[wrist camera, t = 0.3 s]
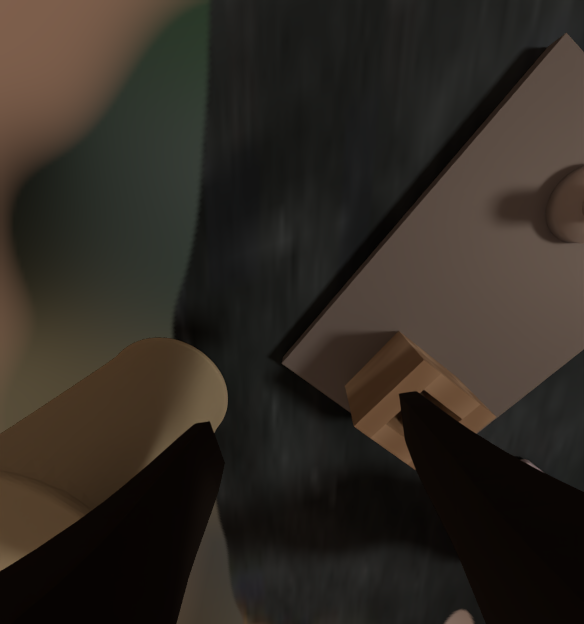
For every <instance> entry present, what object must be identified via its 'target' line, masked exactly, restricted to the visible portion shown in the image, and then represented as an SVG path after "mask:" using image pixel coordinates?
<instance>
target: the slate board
mask: <svg viewBox="0 0 584 624" xmlns="http://www.w3.org/2000/svg"><path fill="white" fill-rule="evenodd" d="M398 331H400V332H401V333H402V334H403V335H405V336H406V337H407V338H408V339H410V340H411V341H412V342H413V343H415V344H416V345H417V346H418V347H420V348H421V349H422V350H423V351H425V352H426V353H427V354H429V355H430V356H431V357H432V358H434V359H435V360H436V361H437V362H439V363H440V364H441V365H442V366H444V367H445V368H446V369H447V370H449V371H450V372H451V373H452V374H454V375H455V376H456V377H457V378H458V379H459V380H460V381H461V382H462V383H463V384H464V385H465V386H466V387H467V388H468V389H469V390H470V391H471V392H472V393H473V394H474V395H475V396H476V397H477V398H478V399H479V400H480V401H481V402H482V403H483V404H484V405H485V406H486V407H487V408H488V409H489V410H490V411H491V412H492V413H493V414H494V415H495V416H496V418H497V417H498V416H500V415H501V414H502V413H504V412H505V411H506V410H507V409H509V408H510V407H511V406H512V405H514V404H515V403H516V402H517V401H519V400H520V399H521V398H523V397H524V396H525V395H526V394H528V393H529V392H530V391H531V390H533V389H534V388H535V387H536V386H538V385H539V384H540V383H541V382H543V381H544V380H545V379H547V378H548V377H549V376H550V375H552V374H553V373H554V372H555V371H557V370H558V369H559V368H560V367H562V366H563V365H564V364H566V363H567V362H568V361H569V360H571V359H572V358H573V357H574V356H576V355H577V354H578V353H579V352H581V351H582V350H583V349H584V52H583V51H582V50H581V49H580V48H579V46H578V45H577V44H576V43H575V42H574V41H573V40H572V39H571V37H570V36H569V35H568V34H567V33H565V34H564V35H563V36H561V37H560V38H559V39H558V40H556V41H555V42H554V43H552V44H551V45H550V46H548V47H547V49H546V50H545V51H544V52H543V53H542V54H541V56H540V57H539V58H538V59H537V60H536V61H535V63H534V64H533V65H532V66H531V67H530V68H529V70H528V71H527V72H526V73H525V74H524V75H523V77H522V78H521V79H520V80H519V81H518V83H517V84H516V85H515V86H514V87H513V88H512V90H511V91H510V92H509V93H508V94H507V95H506V97H505V98H504V99H503V100H502V101H501V102H500V104H499V105H498V106H497V107H496V108H495V109H494V111H493V112H492V113H491V114H490V115H489V116H488V118H487V119H486V120H485V121H484V122H483V123H482V125H481V126H480V127H479V128H478V129H477V130H476V132H475V133H474V134H473V135H472V136H471V138H470V139H469V140H468V141H467V142H466V143H465V145H464V146H463V147H462V148H461V149H460V150H459V152H458V153H457V154H456V155H455V156H454V157H453V159H452V160H451V161H450V162H449V163H448V164H447V166H446V167H445V168H444V169H443V170H442V171H441V173H440V174H439V175H438V176H437V177H436V178H435V180H434V181H433V182H432V183H431V184H430V186H429V187H428V188H427V189H426V190H425V191H424V193H423V194H422V195H421V196H420V197H419V198H418V200H417V201H416V202H415V203H414V204H413V205H412V207H411V208H410V209H409V210H408V211H407V212H406V214H405V215H404V216H403V217H402V218H401V219H400V221H399V222H398V223H397V224H396V225H395V226H394V228H393V229H392V230H391V231H390V232H389V233H388V235H387V236H386V237H385V238H384V239H383V241H382V242H381V243H380V244H379V245H378V246H377V248H376V249H375V250H374V251H373V252H372V253H371V255H370V256H369V257H368V258H367V259H366V260H365V262H364V263H363V264H362V265H361V266H360V267H359V269H358V270H357V271H356V272H355V273H354V274H353V276H352V277H351V278H350V279H349V280H348V281H347V283H346V284H345V285H344V286H343V287H342V288H341V290H340V291H339V292H338V293H337V294H336V296H335V297H334V298H333V299H332V300H331V301H330V303H329V304H328V305H327V306H326V307H325V308H324V310H323V311H322V312H321V313H320V314H319V315H318V317H317V318H316V319H315V320H314V321H313V322H312V324H311V325H310V326H309V327H308V328H307V329H306V331H305V332H304V333H303V334H302V335H301V336H300V338H299V339H298V340H297V341H296V342H295V344H294V345H293V346H292V347H291V348H290V349H289V351H288V352H287V353H286V354H285V355H284V356H283V360H282V364H283V365H285V366H286V367H287V368H289V369H290V370H292V371H293V372H294V373H296V374H297V375H299V376H300V377H301V378H303V379H304V380H306V381H307V382H308V383H310V384H311V385H312V386H314V387H315V388H317V389H318V390H319V391H321V392H322V393H324V394H325V395H326V396H328V397H329V398H331V399H332V400H333V401H335V402H336V403H338V404H339V405H340V406H342V407H343V408H345V409H346V410H347V411H349V412H350V413H351V411H350V407H349V402H348V398H347V393H346V389H345V385H346V384H347V383H348V382H349V381H350V380H351V379H352V378H353V377H354V376H355V375H356V374H357V373H358V372H359V371H360V370H361V369H362V368H363V367H364V366H365V365H366V364H367V363H368V362H369V361H370V360H371V359H372V358H373V357H374V356H375V355H376V354H377V353H378V352H379V351H380V350H381V348H382V347H383V346H384V345H385V344H386V343H387V342H388V341H389V340H390V339H391V338H392V337H393V336H394V335H395V334H396V333H397V332H398ZM420 394H421V395H423V393H422V392H421V393H420ZM423 396H424V395H423ZM424 397H425V396H424ZM496 418H495V419H496ZM495 419H493V420H495ZM493 420H492V421H493ZM492 421H491V422H492ZM491 422H490V423H491ZM490 423H488V424H490ZM488 424H487V425H488ZM487 425H486V426H487ZM486 426H485V427H486ZM485 427H483V428H485ZM483 428H482V429H483ZM482 429H481V430H482ZM481 430H480V431H481ZM480 431H478V432H480ZM478 432H477V433H478ZM477 433H476V434H477Z"/></svg>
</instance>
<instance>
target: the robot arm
mask: <svg viewBox="0 0 584 624" xmlns="http://www.w3.org/2000/svg"><path fill="white" fill-rule="evenodd" d="M399 399H400V407H401V415H402V422H403V430H404V438H405V442H406V445H407V448H408V451H409V453H410V456H411V459H412V461H413V464H414V466H415V469H416V471H417V473H418V475H419V477H420V479H421V481H422V483H423V485H424V487H425V489H426V491H427V493H428V495H429V497H430V499H431V501H432V503H433V505H434V507H435V509H436V511H437V513H438V515H439V517H440V519H441V521H442V523H443V525H444V527H445V529H446V531H447V533H448V535H449V537H450V539H451V541H452V544H453V546H454V548H455V550H456V552H457V554H458V557H459V559H460V561H461V563H462V566H463V568H464V571H465V573H466V576H467V578H468V581H469V583H470V585H471V588H472V590H473V593H474V595H475V598H476V600H477V603H478V605H479V607H480V610H481V613H482V615H483V618H484V620H485V623H486V624H584V492H582V491H580V490H578V489H576V488H574V487H572V486H570V485H568V484H566V483H563V482H561V481H559V480H557V479H555V478H553V477H551V476H549V475H547V474H545V473H544V472H543V471H541V470H540V469H539V468H537V467H536V466H535V465H534V464H532V463H531V462H530V461H528V460H526V459H522V460H519V459H518V458H516V457H514V456H512V455H510V454H509V453H507V452H505V451H503V450H502V449H500V448H498V447H497V446H495V445H493V444H492V443H490V442H489V441H487V440H485V439H484V438H482V437H481V436H479V435H477V434H476V433H474V432H473V431H471V430H470V429H468V428H467V427H466V426H464V425H463V424H461V423H460V422H458V421H457V420H455V419H454V418H452V417H451V416H450V415H448V414H447V413H446V412H444V411H443V410H441V409H440V408H439V407H437V406H436V405H435V404H433V403H432V402H431V401H429V400H428V399H427V398H425V397H424V396H423V395H421V394H420V393H419V392H417V391H413V392H406V393H399ZM224 464H225V462H224V459H223V457H222V454H221V451H220V448H219V445H218V443H217V440H216V437H215V434H214V431H213V429H212V426H211V423H210V421H208V422H201V423H195V424H194V425H193V426H191V427H190V428H189V429H188V430H186V431H185V432H184V433H183V434H182V435H181V436H180V437H178V438H177V439H176V440H175V441H174V442H173V443H172V444H171V445H169V446H168V447H167V448H166V449H165V450H164V451H163V452H162V453H161V454H159V455H158V456H157V457H156V458H155V459H154V460H153V461H152V462H151V463H149V464H148V465H147V466H146V467H145V468H144V469H142V470H141V471H140V472H139V473H138V474H136V475H135V476H134V477H133V478H132V479H131V480H129V481H128V482H127V483H126V484H125V485H123V486H122V487H121V488H120V489H119V490H117V491H116V492H115V493H114V494H112V495H111V496H110V497H109V498H107V499H106V500H105V501H104V502H102V503H101V504H100V505H98V506H97V507H96V508H94V509H93V510H92V511H90V512H89V513H87V514H86V515H85V516H83V517H82V518H81V519H79V520H78V521H76V522H75V523H74V524H72V525H71V526H69V527H68V528H66V529H65V530H63V531H62V532H60V533H59V534H57V535H56V536H54V537H53V538H51V539H50V540H48V541H47V542H45V543H44V544H43V545H41V546H40V547H38V548H37V549H35V550H33V551H32V552H30V553H29V554H27V555H26V556H24V557H22V558H21V559H19V560H18V561H16V562H14V563H13V564H11V565H10V566H8V567H6V568H5V569H3V570H1V571H0V624H176V623H177V619H178V615H179V612H180V608H181V604H182V600H183V597H184V593H185V589H186V585H187V582H188V578H189V575H190V572H191V569H192V566H193V563H194V560H195V557H196V554H197V551H198V548H199V546H200V542H201V539H202V537H203V534H204V531H205V529H206V526H207V523H208V520H209V517H210V515H211V511H212V509H213V506H214V503H215V500H216V497H217V494H218V491H219V487H220V483H221V479H222V474H223V469H224Z"/></svg>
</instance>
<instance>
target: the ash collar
mask: <svg viewBox="0 0 584 624" xmlns="http://www.w3.org/2000/svg"><path fill="white" fill-rule="evenodd" d="M345 389H346V393H347V398H348V402H349V407H350V411H351V415H352V420H353V424H354V427H356V428H357V429H359V430H360V431H361V432H363V433H364V434H366V435H367V436H368V437H370V438H371V439H373V440H374V441H375V442H377V443H378V444H380V445H381V446H382V447H384V448H385V449H387V450H388V451H389V452H391V453H392V454H394V455H395V456H396V457H398V458H399V459H401V460H402V461H404V462H405V463H406V464H408V465H409V466H411V467H412V468H413V469H415V466H414V464H413V461H412V459H411V456H410V453H409V451H408V448H407V445H406V442H405V438H404V430H403V422H402V415H401V407H400V399H399V393H406V392H413V391H417V392H419V393H421V392H422V393H423V395H424V396H425V398H427V399H428V400H429V401H431V402H432V403H433V404H435V405H436V406H437V407H439V408H440V409H441V410H443V411H444V412H446V413H447V414H448V415H450V416H451V417H452V418H454V419H455V420H457V421H458V422H460V423H461V424H463V425H464V426H466V427H467V428H468V429H470V430H471V431H473V432H474V433H477V432H478V431H480V430H481V429H482V428H483V427H485V426H486V425H487V424H488V423H490V422H491V421H492V420H493V419H495V418H496V416H495V415H494V414H493V413H492V412H491V411H490V410H489V409H488V408H487V407H486V406H485V405H484V404H483V403H482V402H481V401H480V400H479V399H478V398H477V397H476V396H475V395H474V394H473V393H472V392H471V391H470V390H469V389H468V388H467V387H466V386H465V385H464V384H463V383H462V382H461V381H460V380H459V379H458V378H457V377H456V376H455V375H454V374H452V373H451V372H450V371H449V370H447V369H446V368H445V367H444V366H442V365H441V364H440V363H439V362H437V361H436V360H435V359H434V358H432V357H431V356H430V355H429V354H427V353H426V352H425V351H423V350H422V349H421V348H420V347H418V346H417V345H416V344H415V343H413V342H412V341H411V340H410V339H408V338H407V337H406V336H405V335H403V334H402V333H401V332H400V331H398V332H397V333H396V334H395V335H394V336H393V337H392V338H391V339H390V340H389V341H388V342H387V343H386V344H385V345H384V346H383V347H382V348H381V350H380V351H379V352H378V353H377V354H376V355H375V356H374V357H373V358H372V359H371V360H370V361H369V362H368V363H367V364H366V365H365V366H364V367H363V368H362V369H361V370H360V371H359V372H358V373H357V374H356V375H355V376H354V377H353V378H352V379H351V380H350V381H349V382H348V383H347V384H346V385H345ZM415 470H416V469H415Z"/></svg>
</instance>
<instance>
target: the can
mask: <svg viewBox="0 0 584 624" xmlns="http://www.w3.org/2000/svg"><path fill="white" fill-rule="evenodd" d="M227 404H228V394H227V388H226V384H225V381H224V379H223V377H222V375H221V373H220V371H219V369H218V368H217V367H216V365H215V364H214V363H213V362H212V361H211V360H210V359H209V358H208V357H207V356H206V355H205V354H204V353H202V352H201V351H200V350H198V349H197V348H195V347H193V346H191V345H189V344H187V343H185V342H182V341H179V340H175V339H171V338H160V337H158V338H148V339H143V340H140V341H137V342H135V343H133V344H131V345H129V346H128V347H126V348H125V349H123V351H121V352H120V353H119V354H118V355H117V356H116V357H115V358H113V359H112V360H111V361H109V362H108V363H107V364H105V365H104V366H102V367H101V368H99V369H98V370H96V371H95V372H93V373H92V374H90V375H89V376H87V377H86V378H84V379H83V380H81V381H80V382H78V383H77V384H75V385H74V386H72V387H71V388H69V389H68V390H66V391H65V392H63V393H62V394H60V395H59V396H57V397H56V398H54V399H53V400H51V401H50V402H48V403H47V404H45V405H44V406H42V407H41V408H39V409H38V410H36V411H35V412H33V413H32V414H30V415H29V416H27V417H25V418H24V419H22V420H21V421H19V422H18V423H16V424H15V425H13V426H12V427H10V428H8V429H7V430H5V431H4V432H2V433H1V434H0V571H1V570H3V569H5V568H6V567H8V566H10V565H11V564H13V563H14V562H16V561H18V560H19V559H21V558H22V557H24V556H26V555H27V554H29V553H30V552H32V551H33V550H35V549H37V548H38V547H40V546H41V545H43V544H44V543H45V542H47V541H48V540H50V539H51V538H53V537H54V536H56V535H57V534H59V533H60V532H62V531H63V530H65V529H66V528H68V527H69V526H71V525H72V524H74V523H75V522H76V521H78V520H79V519H81V518H82V517H83V516H85V515H86V514H87V513H89V512H90V511H92V510H93V509H94V508H96V507H97V506H98V505H100V504H101V503H102V502H104V501H105V500H106V499H107V498H109V497H110V496H111V495H112V494H114V493H115V492H116V491H117V490H119V489H120V488H121V487H122V486H123V485H125V484H126V483H127V482H128V481H129V480H131V479H132V478H133V477H134V476H135V475H136V474H138V473H139V472H140V471H141V470H142V469H144V468H145V467H146V466H147V465H148V464H149V463H151V462H152V461H153V460H154V459H155V458H156V457H157V456H158V455H159V454H161V453H162V452H163V451H164V450H165V449H166V448H167V447H168V446H169V445H171V444H172V443H173V442H174V441H175V440H176V439H177V438H178V437H180V436H181V435H182V434H183V433H184V432H185V431H186V430H188V429H189V428H190V427H191V426H193V425H194V424H195V423H201V422H208V421H210V423H211V426H212V429H213V431H214V432H215V430H216V428H217V427H218V426H219V425H220V423H221V422H222V420H223V418H224V416H225V413H226V410H227Z"/></svg>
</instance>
